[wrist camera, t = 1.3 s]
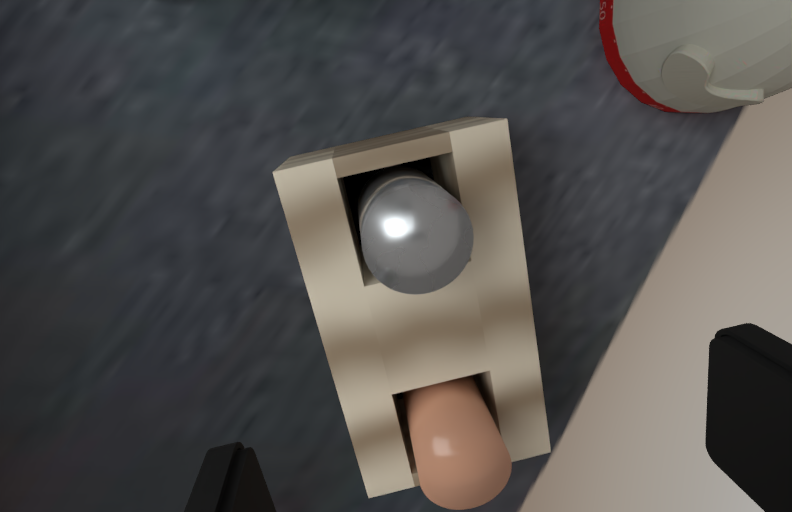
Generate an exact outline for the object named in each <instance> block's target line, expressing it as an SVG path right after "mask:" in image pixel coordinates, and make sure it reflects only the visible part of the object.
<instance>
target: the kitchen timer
mask: <svg viewBox="0 0 792 512" xmlns="http://www.w3.org/2000/svg"><path fill="white" fill-rule="evenodd" d="M599 30H600V34H601V38H602V43H603V47H604V51H605V55H606V59H607V61H608V63H609V65H610V66H611V68H612V70H613V71H614V73H615V75H616V77H617V78H618V80H619V82H620V84H621V85H622V86H623V87H624V88H626V89H627V90H628V91H629V92H630V93H631V94H632V95H634V96H635V97H636V98H637V99H638V100H639V101H640V102H642V103H645V104H647V105H650V106H652V107H655V108H657V109H660V110H662V111H665V112H685V113H712V112H718V111H723V110H727V109H730V108H734V107H738V106H744V105H754V104H760V103H762V102H763V101H764V99H765V98H767V97H770V96H773V95H775V94H778V93H780V92H783V91H785V90H788V89H790V88H792V0H600V19H599Z"/></svg>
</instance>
